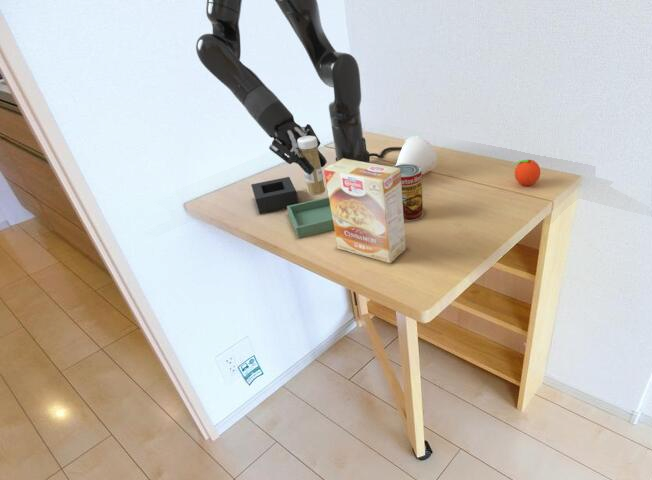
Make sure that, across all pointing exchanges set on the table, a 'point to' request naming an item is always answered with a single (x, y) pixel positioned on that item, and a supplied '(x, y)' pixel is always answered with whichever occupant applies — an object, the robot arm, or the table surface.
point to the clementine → (527, 172)
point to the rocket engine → (418, 154)
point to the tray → (311, 217)
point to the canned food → (411, 191)
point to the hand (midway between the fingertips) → (318, 168)
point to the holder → (274, 194)
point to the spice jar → (311, 154)
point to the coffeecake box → (367, 208)
